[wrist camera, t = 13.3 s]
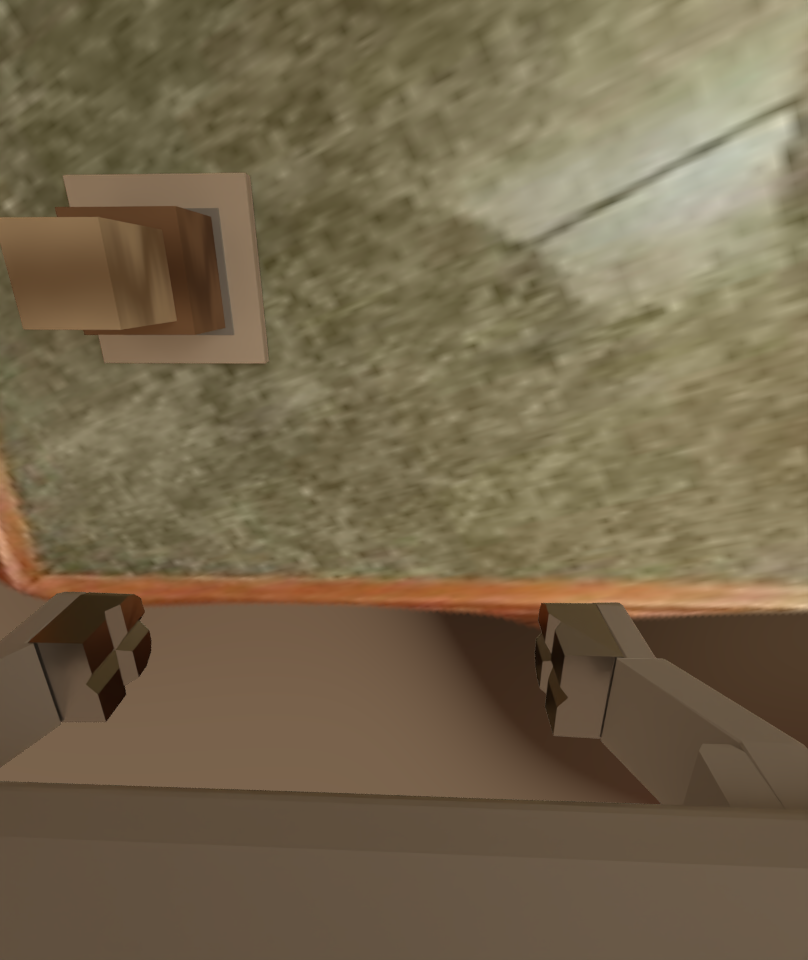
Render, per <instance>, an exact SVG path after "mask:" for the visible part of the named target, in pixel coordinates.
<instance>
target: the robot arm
mask: <svg viewBox="0 0 808 960" xmlns="http://www.w3.org/2000/svg"><path fill="white" fill-rule="evenodd" d="M144 613H145V610H144V607H143V604H142V600H141V598H140V597H138V596H136V595H135V594H115V593H91V592H89V593H86V592H63V593H58V594H56V595H55V596H54V597H52V598H51V599H50V600H49V601H48V602H46V603H45V604H44V605H43V606H42V607H40V608H39V609H38V610H37V611H36V612H35V613H33V614H32V615H31V616H30V617H28V618H27V619H26V620H25V621H24V622H22V623H21V624H20V625H19V626H18V627H16V628H15V629H14V630H13V631H12V632H10V633H9V634H8V635H7V636H6V637H4V638H3V639H2V640H1V641H0V768H1V767H2V766H3V765H5V764H6V763H7V762H9V761H10V760H12V759H13V758H15V757H16V756H17V755H19V754H20V753H22V752H23V751H24V750H26V749H27V748H29V747H30V746H31V745H33V744H34V743H36V742H37V741H38V740H40V739H41V738H43V737H44V736H46V735H47V734H48V733H50V732H51V731H53V730H54V729H55V728H57V727H58V726H60V725H61V722H106V721H107V720H108V719H109V717H110V716H111V715H112V713H113V712H114V711H115V709H116V708H117V707H118V705H119V704H120V702H121V701H122V700H123V698H124V697H125V695H126V690H125V685H127V684H129V683H130V682H132V681H133V680H135V679H137V678H138V677H139V676H140V675H141V673H142V672H143V670H144V669H145V668H146V666H147V663H148V660H149V657H150V653H151V637H150V631H149V629H148V628H146V627H145V625H143V623H141V622H140V619H141V618H142V616H143V614H144ZM538 622H539V625H540V628H541V631H542V633H541V634H540V635H539V636H538V637H537V638H536V644H535V668H536V674H537V680H538V684H539V687H540V689H541V690H543V691H544V692H545V693H546V701H545V709H546V712H547V715H548V719H549V722H550V725H551V729H552V733H553V736H565V737H583V738H599V739H601V742H602V743H603V744H604V745H605V746H606V747H607V748H608V749H609V750H610V751H611V752H612V753H613V754H614V755H615V756H616V757H617V758H618V759H619V760H620V761H621V762H622V763H623V764H624V765H625V767H627V769H628V770H629V771H630V772H631V773H632V774H633V775H634V776H635V777H636V778H637V779H638V780H639V781H640V782H641V783H642V784H643V785H644V786H645V787H646V788H647V789H648V790H649V791H650V792H651V793H652V795H654V796H655V798H656V799H657V800H658V801H659V802H660V803H661V805H660V804H633V803H606V802H604V803H603V802H575V801H543V800H512V799H483V798H457V797H430V796H403V795H379V794H351V793H325V792H322V793H321V792H296V791H266V790H265V791H264V790H238V789H209V788H180V787H179V788H178V787H150V786H122V785H94V784H64V783H38V782H9V781H0V960H808V749H807V748H806V747H805V746H804V745H803V744H802V743H799V742H798V741H797V740H795V739H793V738H792V737H790V736H789V735H787V734H785V733H784V732H782V731H780V730H779V729H777V728H775V727H774V726H772V725H771V724H769V723H767V722H766V721H764V720H763V719H761V718H759V717H758V716H756V715H754V714H753V713H751V712H750V711H748V710H746V709H745V708H743V707H742V706H740V705H738V704H737V703H735V702H733V701H732V700H730V699H729V698H727V697H725V696H724V695H722V694H720V693H719V692H717V691H715V690H714V689H712V688H711V687H709V686H707V685H706V684H704V683H702V682H701V681H699V680H698V679H696V678H694V677H692V676H691V675H689V674H688V673H686V672H685V671H683V670H681V669H680V668H678V667H677V666H675V665H673V664H672V663H670V662H668V661H667V660H665V659H656V658H655V656H654V654H653V653H652V652H651V650H650V648H649V646H648V645H647V643H646V642H645V640H644V638H643V637H642V635H641V634H640V632H639V631H638V629H637V628H636V626H635V624H634V623H633V621H632V619H631V618H630V616H629V615H628V613H627V611H626V610H625V608H624V607H623V605H621V604H620V603H541V606H540V609H539V617H538Z"/></svg>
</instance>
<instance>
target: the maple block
mask: <svg viewBox="0 0 808 960" xmlns="http://www.w3.org/2000/svg"><path fill="white" fill-rule="evenodd" d="M0 244H1V248H2V252H3V255H4V259H5V263H6V266H7V270H8V274H9V278H10V281H11V285H12V289H13V292H14V296H15V300H16V303H17V307H18V311H19V314H20V318H21V322H22V325H23V329H37V330H123V329H129V328H135V327H142V326H148V325H155V324H161V323H167V322H174V321H177V318H176V312H175V306H174V300H173V294H172V287H171V281H170V275H169V269H168V263H167V256H166V250H165V244H164V238H163V232H162V229H157V228H152V227H147V226H142V225H136V224H131V223H126V222H121V221H116V220H111V219H106V218H101V217H0Z"/></svg>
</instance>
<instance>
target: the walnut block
mask: <svg viewBox="0 0 808 960" xmlns="http://www.w3.org/2000/svg"><path fill="white" fill-rule="evenodd" d="M55 210H56V214H57V217H101V218H106V219H111V220H116V221H121V222H126V223H131V224H136V225H142V226H147V227H152V228H157V229H162V232H163V238H164V244H165V250H166V256H167V263H168V269H169V275H170V281H171V287H172V294H173V300H174V306H175V312H176V318H177V321H174V322H167V323H161V324H155V325H148V326H142V327H135V328H129V329H123V330H83V331H84V335H197V334H201V333H205V332H210V331H214V330H218V329H223V328H226V327H225V319H224V312H223V304H222V296H221V289H220V281H219V273H218V266H217V258H216V250H215V243H214V235H213V227H212V220H211V217H210V216H207V215H204V214H200V213H197V212H194V211H191V210H187V209H184V208H181V207H177V206H121V207H55Z"/></svg>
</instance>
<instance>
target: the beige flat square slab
mask: <svg viewBox="0 0 808 960" xmlns="http://www.w3.org/2000/svg"><path fill="white" fill-rule="evenodd" d="M63 178H64V183H65V187H66V192H67V196H68V201H69V205H70V207H121V206H177V207H181V208H184V209H187V210H191V211H194V212H197V213H200V214H204V215H207V216H210V217H211V220H212V227H213V235H214V243H215V250H216V258H217V266H218V273H219V281H220V289H221V296H222V304H223V312H224V319H225V327H226V328H223V329H218V330H214V331H210V332H205V333H201V334H197V335H98V336H99V340H100V345H101V349H102V354H103V358H104V363H267V362H269V355H268V346H267V336H266V326H265V316H264V306H263V296H262V287H261V277H260V267H259V257H258V247H257V238H256V228H255V218H254V208H253V198H252V188H251V179H250V175H248V174H246V173H190V174H110V175H63Z"/></svg>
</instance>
